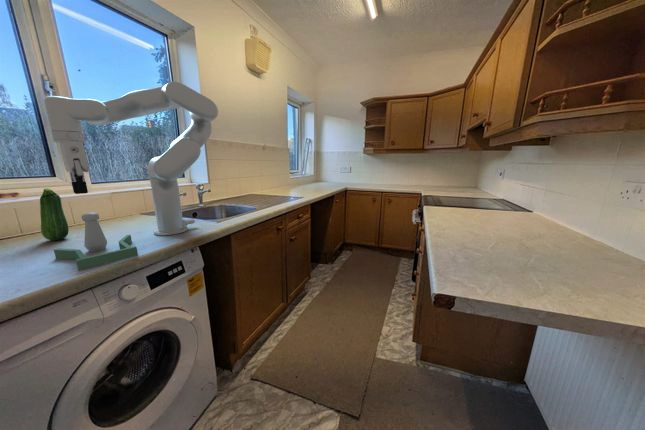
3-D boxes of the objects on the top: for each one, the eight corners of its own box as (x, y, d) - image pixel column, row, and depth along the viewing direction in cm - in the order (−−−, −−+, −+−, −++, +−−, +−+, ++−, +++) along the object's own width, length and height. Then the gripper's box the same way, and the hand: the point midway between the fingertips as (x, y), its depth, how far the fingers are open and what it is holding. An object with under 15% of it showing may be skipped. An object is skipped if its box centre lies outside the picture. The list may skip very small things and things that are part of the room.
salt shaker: (95, 253, 82) (86, 215, 79) (81, 252, 83) (72, 214, 80) (112, 247, 87) (105, 211, 84) (99, 246, 88) (92, 211, 86)
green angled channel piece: (131, 241, 93) (130, 234, 93) (148, 253, 82) (147, 244, 82) (55, 258, 78) (53, 249, 77) (64, 274, 67) (61, 264, 67)
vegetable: (56, 237, 99) (44, 187, 94) (76, 236, 99) (64, 187, 95) (38, 243, 91) (23, 189, 87) (59, 242, 92) (46, 189, 88)
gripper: (89, 137, 80) (100, 194, 84) (80, 139, 89) (90, 190, 93) (55, 135, 74) (69, 196, 78) (49, 138, 83) (62, 192, 87)
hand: (81, 192), depth 86 cm, fingers closed
